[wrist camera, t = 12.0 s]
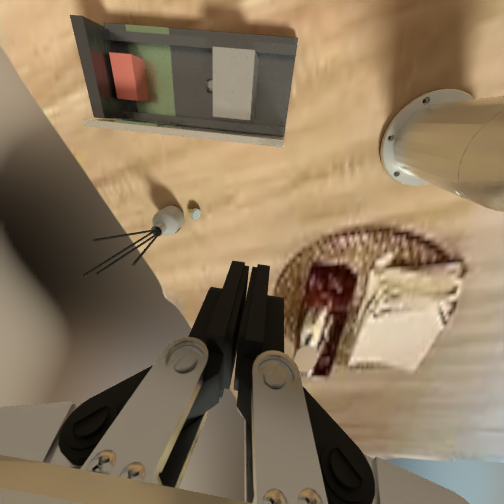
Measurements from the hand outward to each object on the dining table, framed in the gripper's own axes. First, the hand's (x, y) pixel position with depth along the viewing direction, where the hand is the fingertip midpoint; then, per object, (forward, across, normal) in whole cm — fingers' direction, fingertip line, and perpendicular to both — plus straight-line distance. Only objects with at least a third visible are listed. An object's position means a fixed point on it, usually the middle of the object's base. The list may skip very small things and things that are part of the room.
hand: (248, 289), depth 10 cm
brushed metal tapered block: (+31, +7, -10) cm, 33 cm away
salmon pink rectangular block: (+31, +22, -10) cm, 39 cm away
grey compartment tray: (+32, +12, -10) cm, 36 cm away
